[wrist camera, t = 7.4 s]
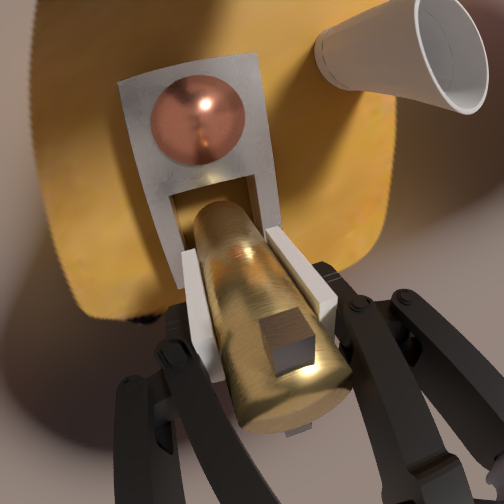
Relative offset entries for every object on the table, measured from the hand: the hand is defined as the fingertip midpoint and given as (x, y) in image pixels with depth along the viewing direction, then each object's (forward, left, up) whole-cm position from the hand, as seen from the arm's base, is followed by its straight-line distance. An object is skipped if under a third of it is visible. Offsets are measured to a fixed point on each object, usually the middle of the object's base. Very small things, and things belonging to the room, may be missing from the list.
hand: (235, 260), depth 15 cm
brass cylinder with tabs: (0, 0, -5) cm, 5 cm away
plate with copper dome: (-4, 0, -8) cm, 9 cm away
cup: (-12, +14, -8) cm, 20 cm away
